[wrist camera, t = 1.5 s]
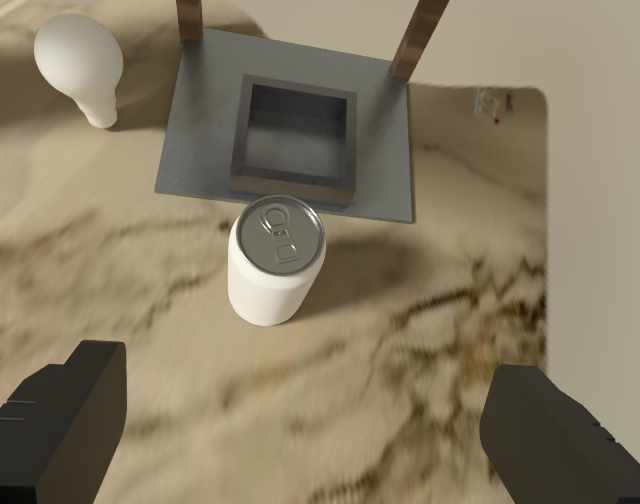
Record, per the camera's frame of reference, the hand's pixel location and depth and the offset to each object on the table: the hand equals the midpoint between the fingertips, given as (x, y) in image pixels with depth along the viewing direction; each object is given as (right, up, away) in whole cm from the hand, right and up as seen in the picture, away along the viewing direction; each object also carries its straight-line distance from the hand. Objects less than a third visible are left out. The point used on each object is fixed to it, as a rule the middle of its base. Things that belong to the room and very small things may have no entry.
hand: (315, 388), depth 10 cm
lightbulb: (-20, +15, +33) cm, 41 cm away
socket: (-2, +16, +37) cm, 40 cm away
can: (-5, 0, +30) cm, 30 cm away
